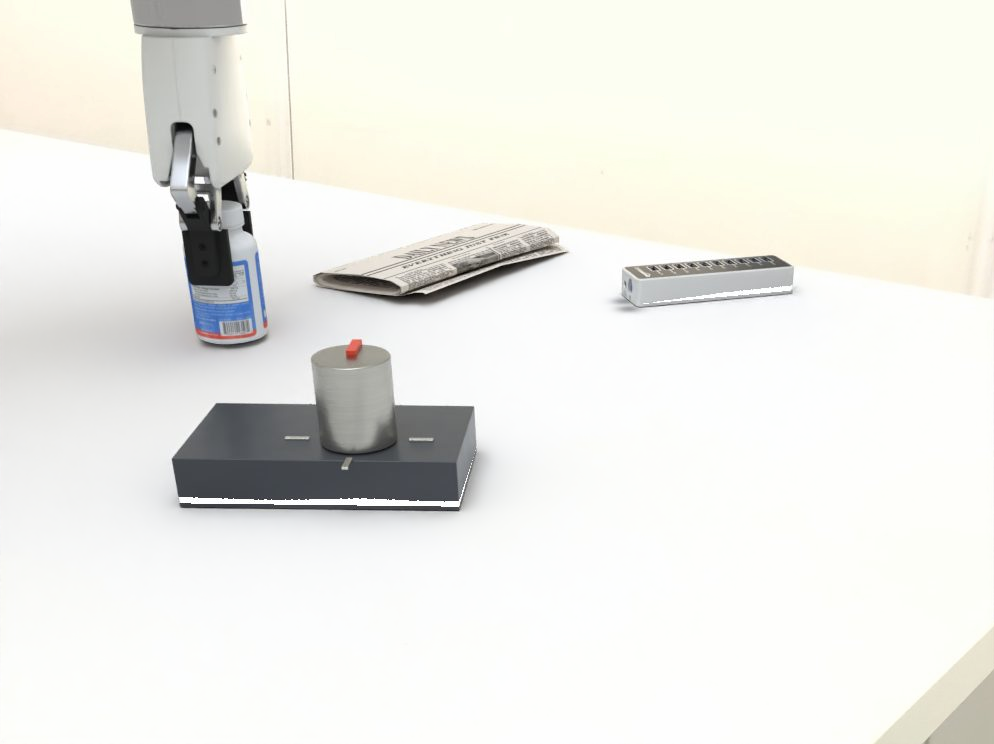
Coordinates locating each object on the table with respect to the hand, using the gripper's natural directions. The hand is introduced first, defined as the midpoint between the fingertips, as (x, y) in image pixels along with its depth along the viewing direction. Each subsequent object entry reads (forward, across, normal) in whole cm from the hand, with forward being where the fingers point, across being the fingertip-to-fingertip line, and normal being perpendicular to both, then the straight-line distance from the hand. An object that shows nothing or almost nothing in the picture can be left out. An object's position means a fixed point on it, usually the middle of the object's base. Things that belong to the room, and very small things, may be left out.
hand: (223, 271), depth 100 cm
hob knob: (+2, +28, +15) cm, 32 cm away
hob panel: (+5, +27, +13) cm, 30 cm away
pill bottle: (+5, 0, 0) cm, 5 cm away
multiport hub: (+5, -14, +37) cm, 40 cm away
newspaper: (+5, -21, +14) cm, 26 cm away
